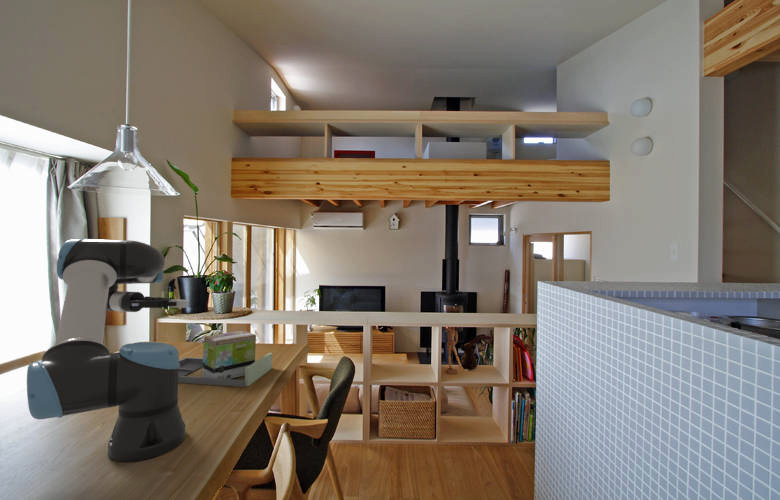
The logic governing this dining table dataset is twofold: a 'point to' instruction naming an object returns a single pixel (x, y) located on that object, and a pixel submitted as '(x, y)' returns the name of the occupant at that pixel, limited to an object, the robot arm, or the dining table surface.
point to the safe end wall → (258, 369)
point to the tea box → (228, 354)
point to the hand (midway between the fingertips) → (186, 303)
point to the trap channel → (195, 364)
